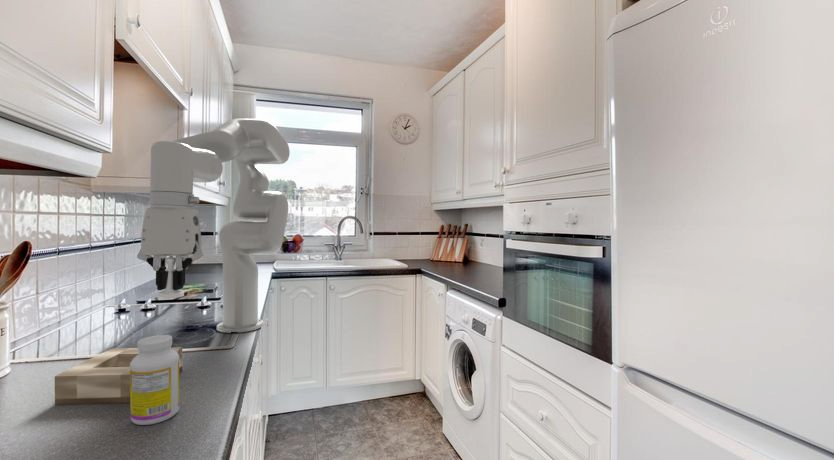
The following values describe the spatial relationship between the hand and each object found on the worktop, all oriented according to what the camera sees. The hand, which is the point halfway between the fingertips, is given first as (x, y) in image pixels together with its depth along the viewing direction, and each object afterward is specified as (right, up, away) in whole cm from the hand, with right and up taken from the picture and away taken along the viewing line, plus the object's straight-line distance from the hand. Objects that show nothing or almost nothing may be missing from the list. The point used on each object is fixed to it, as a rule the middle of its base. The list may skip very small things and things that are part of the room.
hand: (170, 288), depth 79 cm
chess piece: (0, -2, 0) cm, 2 cm away
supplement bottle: (+9, -19, -17) cm, 27 cm away
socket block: (-5, -18, -6) cm, 19 cm away
